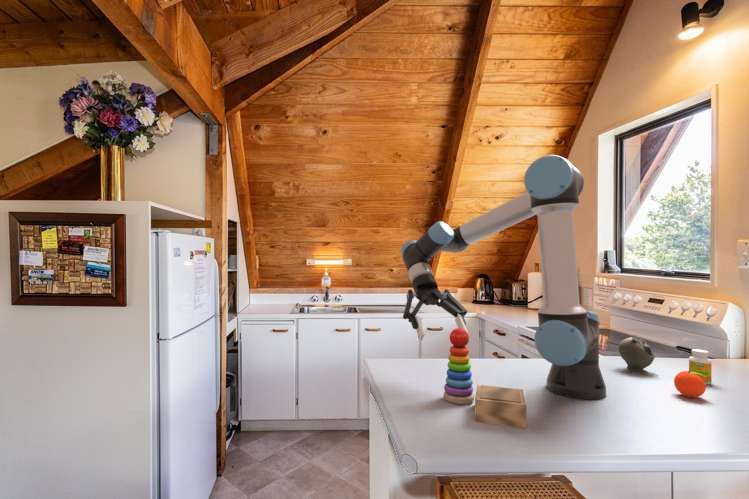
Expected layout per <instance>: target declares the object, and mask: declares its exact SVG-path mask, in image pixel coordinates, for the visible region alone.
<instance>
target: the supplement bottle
mask: <svg viewBox="0 0 749 499" xmlns="http://www.w3.org/2000/svg"><path fill="white" fill-rule="evenodd" d="M691 355H692V356H689V358H688V371H690V372H696V373H699V374H698V375H699V376H701V377H702V378H703V380H704V382H705V384H706V385H711V384H712V360H711V359H710V358H709V356H710V354H709V351H708V350H704V349H695V348H694V349H691ZM700 374H702V375H704V376H705V377H704V376H702V375H700ZM708 379H709V380H708ZM709 381H710V382H709Z"/></svg>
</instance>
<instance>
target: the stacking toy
mask: <svg viewBox="0 0 749 499" xmlns="http://www.w3.org/2000/svg"><path fill="white" fill-rule="evenodd" d="M449 341H450V343H451V345H452V346H450V348H449V352H450V354H449V355H448V358H447V359H448V363H447V368H448V369H447V370H446V375H447V376H446V378H445V384H444V386H443V388H444V389H443V390H444V392H443V398H444V400H445V401H446V402H449V403H451V404H455V405H468V404H472V403H473V402H475V394H474V387H473V383H474V381H473V378H472V375H473V374H472V371H471V368H472V367H471V366H472V365H471V363H470V356H469V353H470V349H469V348H468V346H467V345H468V344H469V341H470V335H469V332H468V333H467V332H466V331H465V330H464V329H461V328H458V327H457V328H454V329H453V330H452V331H450V333H449Z"/></svg>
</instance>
